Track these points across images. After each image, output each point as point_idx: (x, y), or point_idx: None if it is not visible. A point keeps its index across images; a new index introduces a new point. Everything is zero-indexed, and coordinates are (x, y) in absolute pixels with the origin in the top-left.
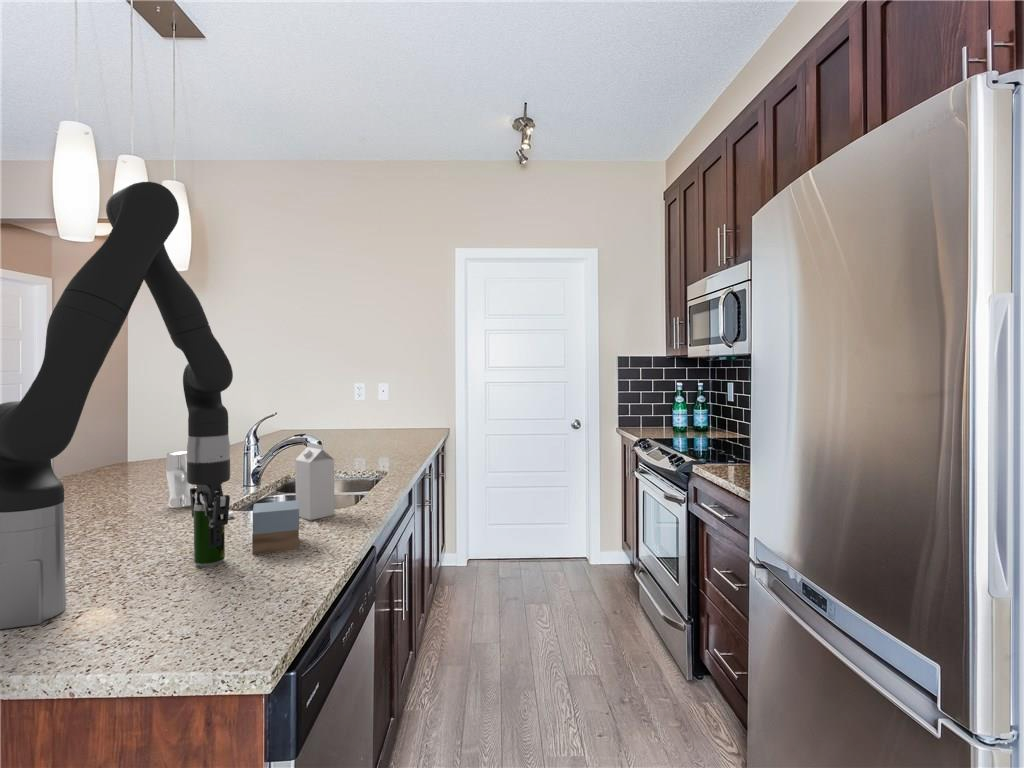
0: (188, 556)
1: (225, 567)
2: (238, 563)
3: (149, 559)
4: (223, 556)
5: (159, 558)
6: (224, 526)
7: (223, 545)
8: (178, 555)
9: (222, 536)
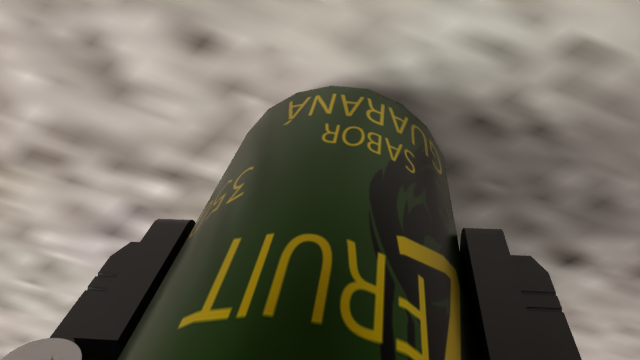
0: (84, 207)
1: (537, 137)
2: (532, 30)
3: None
4: (418, 126)
5: (28, 318)
6: (362, 241)
7: (420, 167)
8: (24, 237)
9: (439, 233)
